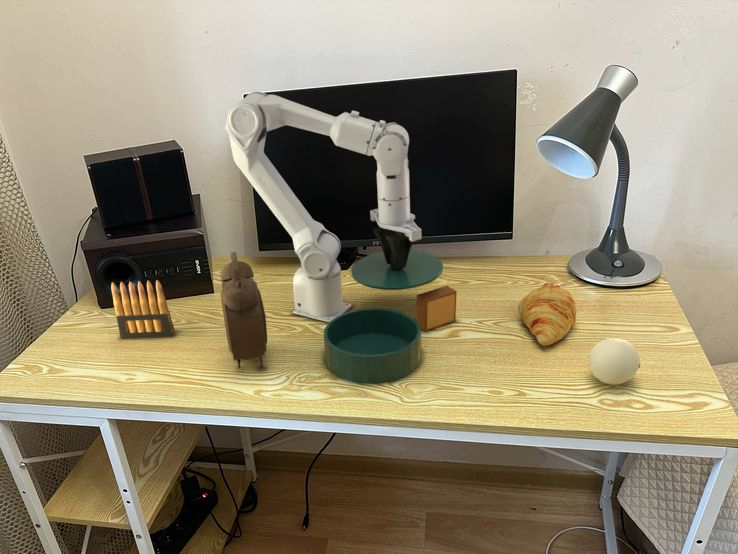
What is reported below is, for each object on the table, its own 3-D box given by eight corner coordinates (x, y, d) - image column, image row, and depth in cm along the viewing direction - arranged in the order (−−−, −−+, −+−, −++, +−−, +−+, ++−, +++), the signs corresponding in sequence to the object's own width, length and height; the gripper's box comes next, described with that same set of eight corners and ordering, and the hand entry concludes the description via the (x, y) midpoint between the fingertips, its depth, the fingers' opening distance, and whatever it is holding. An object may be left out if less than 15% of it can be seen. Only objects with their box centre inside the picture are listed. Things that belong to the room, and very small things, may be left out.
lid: (340, 290, 119) (338, 268, 116) (365, 253, 132) (363, 232, 130) (434, 295, 113) (433, 272, 110) (449, 256, 126) (449, 234, 124)
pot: (313, 377, 110) (311, 350, 107) (340, 329, 123) (339, 304, 121) (410, 389, 105) (410, 361, 102) (427, 337, 118) (428, 312, 115)
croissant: (559, 369, 112) (589, 336, 107) (509, 341, 112) (536, 308, 107) (558, 310, 129) (584, 280, 124) (514, 286, 129) (538, 255, 124)
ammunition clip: (120, 338, 127) (106, 284, 121) (123, 334, 129) (109, 280, 123) (172, 336, 126) (160, 281, 120) (175, 332, 128) (163, 277, 122)
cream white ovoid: (639, 395, 98) (649, 355, 95) (588, 392, 100) (595, 352, 96) (628, 360, 107) (636, 322, 103) (580, 358, 108) (586, 320, 105)
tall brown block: (415, 325, 123) (416, 294, 119) (445, 315, 125) (446, 285, 122) (425, 331, 120) (426, 301, 117) (455, 321, 122) (457, 291, 119)
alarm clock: (275, 374, 112) (262, 270, 101) (234, 381, 111) (216, 276, 100) (266, 334, 124) (253, 238, 114) (228, 340, 123) (212, 243, 113)
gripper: (435, 200, 110) (436, 272, 117) (391, 182, 122) (393, 248, 129) (401, 210, 108) (403, 282, 115) (359, 190, 120) (363, 257, 127)
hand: (396, 265), depth 122 cm, fingers closed on lid, 2 cm apart
